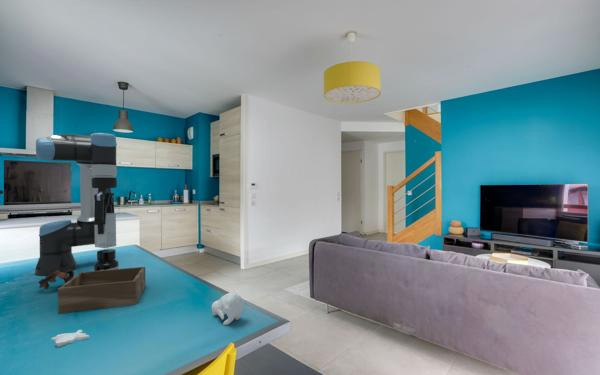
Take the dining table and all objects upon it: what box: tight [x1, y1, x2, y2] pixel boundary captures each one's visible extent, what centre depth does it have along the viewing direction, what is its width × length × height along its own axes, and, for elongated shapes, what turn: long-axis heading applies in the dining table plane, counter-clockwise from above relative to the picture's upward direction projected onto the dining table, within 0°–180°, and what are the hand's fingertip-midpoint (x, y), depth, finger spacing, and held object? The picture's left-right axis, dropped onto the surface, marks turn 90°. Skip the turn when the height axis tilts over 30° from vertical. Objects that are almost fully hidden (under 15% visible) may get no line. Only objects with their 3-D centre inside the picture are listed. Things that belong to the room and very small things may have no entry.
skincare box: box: [94, 212, 117, 249], centre depth 105 cm, size 6×4×12 cm
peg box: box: [57, 266, 147, 315], centre depth 105 cm, size 18×22×8 cm
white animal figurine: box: [211, 292, 245, 326], centre depth 90 cm, size 6×8×12 cm
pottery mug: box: [37, 270, 75, 290], centre depth 116 cm, size 12×10×8 cm
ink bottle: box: [93, 248, 120, 271], centre depth 128 cm, size 10×9×12 cm
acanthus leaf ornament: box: [50, 329, 91, 348], centre depth 78 cm, size 8×7×2 cm
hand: (105, 240), depth 105 cm, fingers closed on skincare box, 7 cm apart
